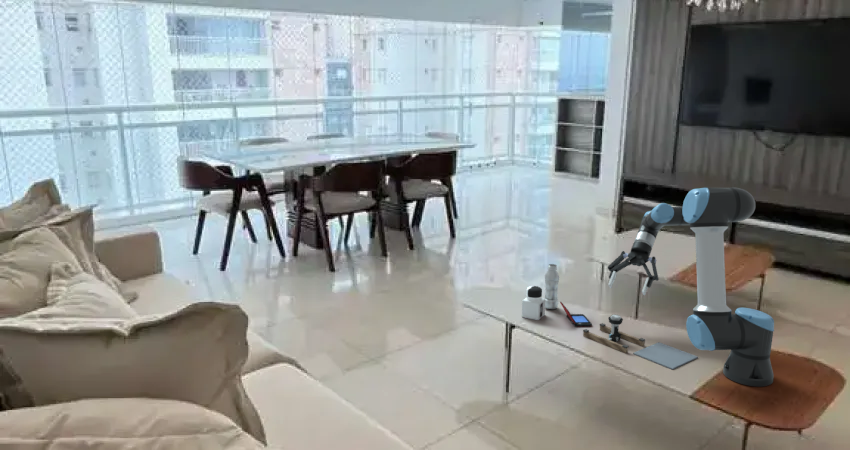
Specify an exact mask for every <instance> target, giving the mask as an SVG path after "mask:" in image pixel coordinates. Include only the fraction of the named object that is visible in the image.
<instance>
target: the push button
mask: <svg viewBox="0 0 850 450" xmlns="http://www.w3.org/2000/svg"><path fill="white" fill-rule="evenodd" d="M623 321H624V319H623V318H622V316H621V315H619V314H611V315H610V316H608V322H609V323H610V325H611V327H610V328H611V333H610V334H608V338H607V339H608V340H611V341H613V342H618V341H621V339H622V338H621V334H620V333H619V331H620V330H619V326H620V325H622V323H623Z"/></svg>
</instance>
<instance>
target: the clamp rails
mask: <svg viewBox="0 0 850 450" xmlns="http://www.w3.org/2000/svg"><path fill="white" fill-rule="evenodd" d="M606 325H607V324H605V323H603V322H602V323H599V330H600V331H602V332H604V333H607V334H608V335H610V333H611V327H609V326H606ZM582 330H583V331H582V335H583V337H585V338H587V339H590V340H592V341H594V342H597V343H600V344H602V345H604V346H607V347H609V348H612V349H614V350H617V351H620V352H621V353H624V354H627V353H629V345H628V344H621V343H618V342H617V341H615V342H613V341H611V340H608V339H609V338H605V337H603V336H601V335H598V334H595V333H593V332H590V330H589V329H587V328H585V329H582ZM618 331H619V333H620V334H621V338H620V339H623V340H625V341H627V342H630V343H633V344H636V345H638V346H640V347H644V346H645V341H646V339H645V338H643V337H640V338H638V337H636V336H633V335H631V334H628V333H625V332H623V331H620V330H618Z"/></svg>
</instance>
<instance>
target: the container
mask: <svg viewBox="0 0 850 450" xmlns="http://www.w3.org/2000/svg"><path fill="white" fill-rule="evenodd" d="M525 292H526V295H525V296H526V297H525V298H524V299H522V300H521V301H522V302H521V317H522V318H526V319H529V320H535V321H539V320H540V319H542V318H543V317H544V316H546V315H545V314H546V308H545V297H542V296H543V289H542V287H539V286H538V285H530V286H527V288H526V290H525Z"/></svg>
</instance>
